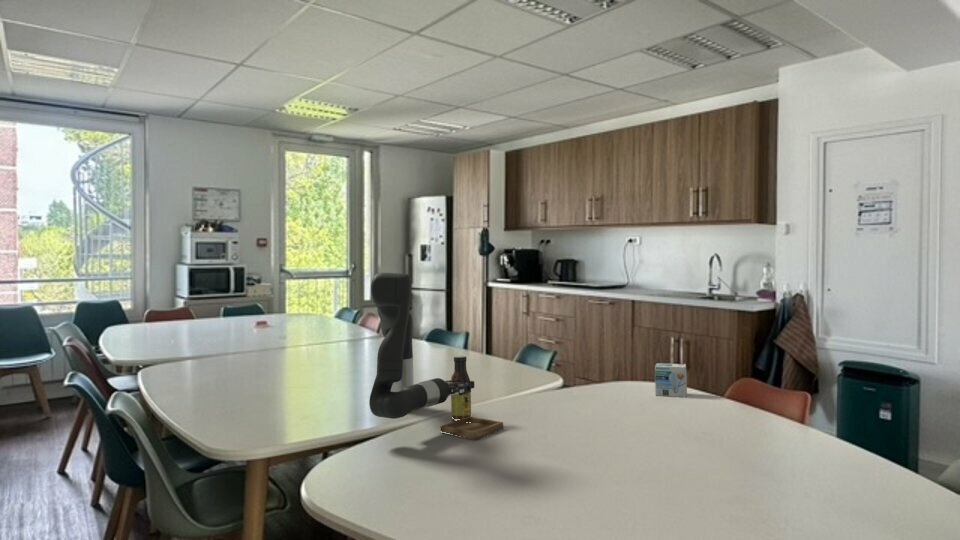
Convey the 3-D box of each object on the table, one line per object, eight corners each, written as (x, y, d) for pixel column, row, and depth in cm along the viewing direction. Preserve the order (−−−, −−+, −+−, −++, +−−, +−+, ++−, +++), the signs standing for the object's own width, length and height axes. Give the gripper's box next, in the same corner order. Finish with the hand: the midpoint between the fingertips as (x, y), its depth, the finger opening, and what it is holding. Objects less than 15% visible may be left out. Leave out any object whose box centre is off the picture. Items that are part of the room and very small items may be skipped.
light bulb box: (655, 395, 199) (654, 365, 199) (656, 392, 205) (655, 362, 206) (686, 397, 195) (685, 366, 195) (687, 393, 201) (686, 363, 202)
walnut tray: (440, 433, 160) (440, 426, 160) (468, 423, 170) (468, 416, 170) (475, 440, 152) (475, 433, 152) (503, 429, 162) (502, 422, 163)
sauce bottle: (468, 422, 171) (467, 358, 171) (449, 422, 172) (447, 358, 172) (473, 417, 177) (471, 355, 178) (454, 416, 179) (452, 355, 179)
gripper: (447, 382, 159) (482, 373, 172) (411, 378, 168) (447, 369, 181) (448, 408, 159) (483, 397, 172) (412, 403, 168) (448, 392, 181)
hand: (465, 383), depth 177 cm, fingers closed on sauce bottle, 6 cm apart
